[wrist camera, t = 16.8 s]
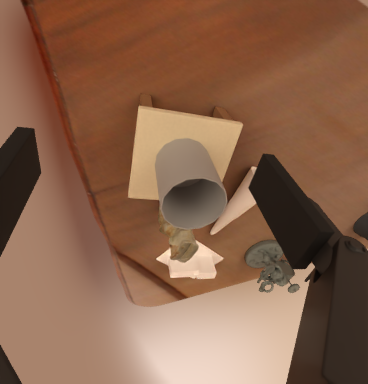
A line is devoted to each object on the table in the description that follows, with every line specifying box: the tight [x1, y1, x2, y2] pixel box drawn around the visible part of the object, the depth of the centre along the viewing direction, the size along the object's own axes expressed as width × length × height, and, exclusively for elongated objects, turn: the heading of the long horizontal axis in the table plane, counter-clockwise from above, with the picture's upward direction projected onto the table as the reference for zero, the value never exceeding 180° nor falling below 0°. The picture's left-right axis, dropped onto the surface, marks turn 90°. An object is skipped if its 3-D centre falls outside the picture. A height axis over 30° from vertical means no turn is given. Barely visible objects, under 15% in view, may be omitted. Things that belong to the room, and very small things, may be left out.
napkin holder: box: [156, 240, 224, 279], centre depth 66 cm, size 15×11×6 cm
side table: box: [128, 94, 243, 200], centre depth 43 cm, size 15×15×8 cm
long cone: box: [210, 167, 257, 235], centre depth 56 cm, size 6×6×19 cm
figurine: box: [245, 240, 300, 293], centre depth 67 cm, size 11×11×12 cm
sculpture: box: [158, 206, 199, 263], centre depth 49 cm, size 6×7×15 cm
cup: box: [155, 138, 228, 230], centre depth 36 cm, size 8×8×10 cm
